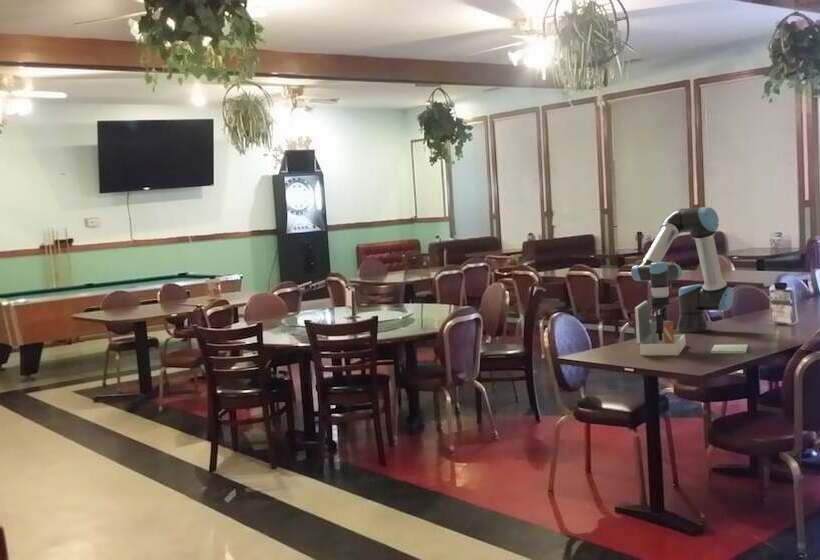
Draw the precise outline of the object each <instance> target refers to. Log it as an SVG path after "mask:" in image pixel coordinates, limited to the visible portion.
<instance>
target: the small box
mask: <svg viewBox="0 0 820 560" xmlns="http://www.w3.org/2000/svg"><path fill="white" fill-rule="evenodd" d="M655 331H656V322H652V323H651V335H652V344H658V336H657V333H655ZM663 333H664V344H674V335H675V334H674V333H675V332H674V321H673V320H667V321H663Z"/></svg>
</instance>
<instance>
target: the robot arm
mask: <svg viewBox="0 0 820 560" xmlns="http://www.w3.org/2000/svg"><path fill="white" fill-rule="evenodd" d="M719 224H720V221H719V216H718V213H717V211H716V210H715V209H714V208H712V207H710V206H701V207H690V208H680V209H677V210H675V211H673V212H672V213H670V214H669V215H668V216H667V217H666V218H665V219H664V220H663V221H662V223H661V225H660V226H659V232H658V234H657V235H656V237H655V239H654V241H653V242H652V244H651V246H650V247H649V248H648V250H647V252H646V254H645V256H644V257H643V259H642V261H641V263H640V264H636V265H635V264H634V265H633V266H632V267H631V272H630V275H631V276H630V277H631V278H632V279H633V280H634V281H635V282H650V287H651V288H650V290H649V292H651V296H652V297H651V305H652V306H654V307H657V308H656V309H655V316H656V331H655V333H657V336H658V344H664V333H663V321H668V315H667V306H670V286H669V282H672V281H673V282H674V281H677V280H678V279H679V278H681V276H682V273H683V270H682V268H681V266H680V265H679V264H677V263H669V264H668V262H666V261H663V259H664V257H665V255H666V253H667V252H668V250H669V248H670V246H671V245H672V243H673V242H674V240H675V239H676V238H678V237H679V235H680V234H682V233H690V238H692V239H693V240H694V241H695V246H696V250H697V254H698V255H697V256H698V259H699V264H700V269H701V273H702V278H703V282H704V283H703V284H702V283H699V284H692V285H686V286H682V287H680V288H679V289H678V303H679V319H678V322H677V324H676V325H677V327H676V331H677V332H678V333H679V332H680V333H703V332H708V331H709V324H708V322H707V319H706V317H705V311H713V312H714V311H716V312H717V311H718V312H722V311H728V310H730V309H731V307H732V306H733V303H734V297H735V293H734V292H735V291H734V289H733V287H731V286H728V284H727V281H726V280H724V279H723V276H722V271H721V266H720V261H719V258H718V257H719V256H718V251H717V247H716V242H715V237H714V236H715V234H716V232H717V230H718V229H719Z"/></svg>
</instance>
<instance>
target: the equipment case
mask: <svg viewBox="0 0 820 560" xmlns="http://www.w3.org/2000/svg"><path fill="white" fill-rule="evenodd" d="M649 307H650V305H649V302H648V300H644V301H643V302H641V303H639V304H638V305H636V306H635V307H634V312H635V313H634V315H635V316H634V317H635V318H634V319H635V331H636V332H635V334H636V345H637V346H639V352H640V356H679V355H680V353H681V352H682V351H683V349H684V348H685V347H686V334H674V344H652V335H649V334H650V323H652V322H651V321H650V320H649V316H650V308H649Z"/></svg>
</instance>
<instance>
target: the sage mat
mask: <svg viewBox="0 0 820 560" xmlns="http://www.w3.org/2000/svg"><path fill="white" fill-rule="evenodd" d="M748 348H749V344H713V347H712V348H711V350H710V354H747V350H748Z"/></svg>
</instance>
